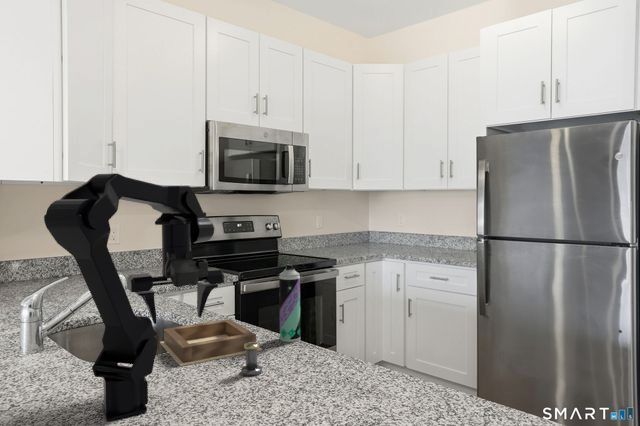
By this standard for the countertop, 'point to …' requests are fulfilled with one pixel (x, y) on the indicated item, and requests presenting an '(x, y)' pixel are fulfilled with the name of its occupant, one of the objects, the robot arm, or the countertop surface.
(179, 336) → the walnut frame
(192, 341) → the cork mat
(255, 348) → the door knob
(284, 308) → the spray can
